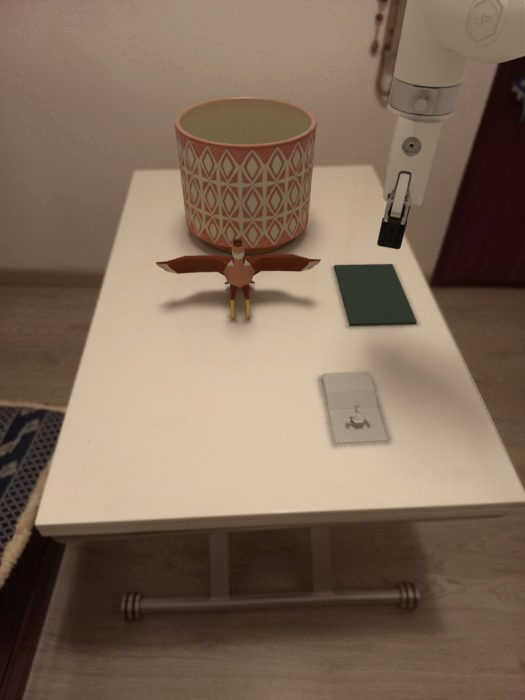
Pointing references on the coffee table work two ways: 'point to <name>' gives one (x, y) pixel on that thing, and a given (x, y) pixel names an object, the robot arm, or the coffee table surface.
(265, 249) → the planter
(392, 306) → the felt mat
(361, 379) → the white pop-up card
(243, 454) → the coffee table surface
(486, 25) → the robot arm
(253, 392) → the coffee table surface
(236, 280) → the decorative bird
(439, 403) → the coffee table surface
